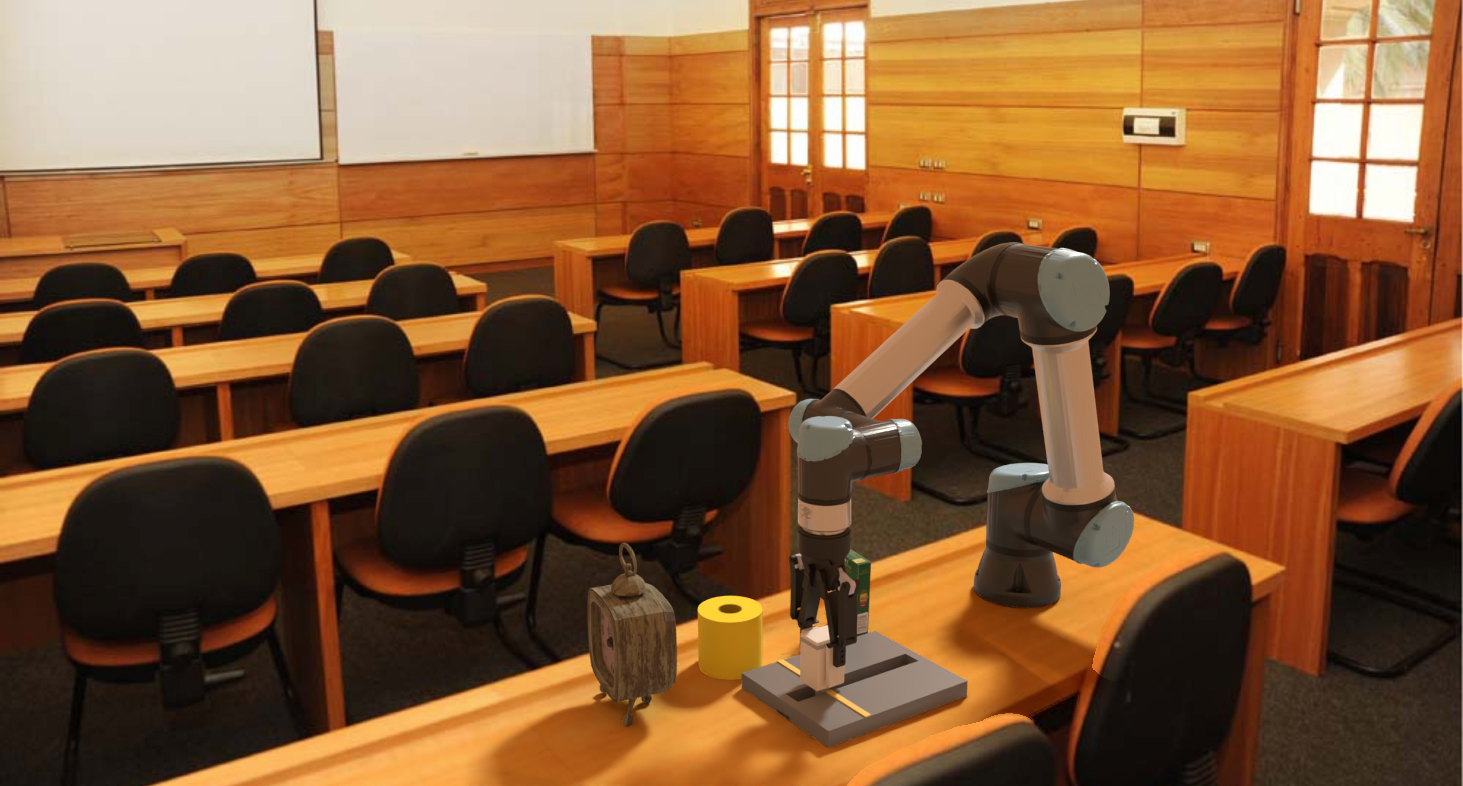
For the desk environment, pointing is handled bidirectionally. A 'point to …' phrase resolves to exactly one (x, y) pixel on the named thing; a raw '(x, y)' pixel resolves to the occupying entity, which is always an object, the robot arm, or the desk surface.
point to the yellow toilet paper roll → (730, 636)
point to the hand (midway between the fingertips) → (822, 676)
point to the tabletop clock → (631, 638)
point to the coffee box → (861, 571)
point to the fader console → (857, 690)
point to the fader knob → (814, 658)
